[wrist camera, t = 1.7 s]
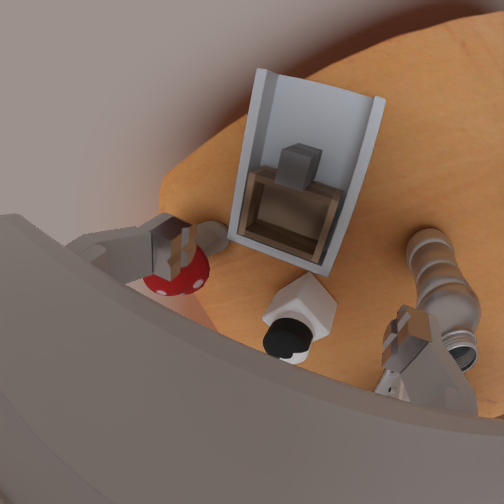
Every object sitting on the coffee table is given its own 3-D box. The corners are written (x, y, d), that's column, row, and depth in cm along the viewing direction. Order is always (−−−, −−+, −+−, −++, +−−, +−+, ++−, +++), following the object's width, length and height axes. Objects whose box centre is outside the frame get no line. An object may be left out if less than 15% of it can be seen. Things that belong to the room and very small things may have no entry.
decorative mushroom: (199, 261, 48) (143, 311, 36) (181, 215, 45) (115, 256, 33) (249, 255, 43) (197, 314, 31) (231, 202, 40) (166, 247, 28)
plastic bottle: (402, 224, 31) (421, 333, 15) (449, 221, 28) (504, 324, 12) (404, 269, 34) (411, 389, 18) (448, 266, 31) (481, 382, 14)
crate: (324, 246, 36) (313, 272, 30) (253, 219, 39) (230, 240, 33) (352, 159, 30) (348, 170, 24) (270, 135, 32) (247, 140, 26)
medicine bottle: (276, 290, 44) (245, 342, 34) (310, 269, 40) (285, 322, 30) (304, 321, 45) (281, 375, 35) (338, 303, 40) (322, 361, 31)
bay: (333, 258, 38) (327, 277, 34) (242, 225, 41) (227, 238, 37) (383, 102, 26) (386, 99, 22) (272, 74, 29) (256, 68, 25)
